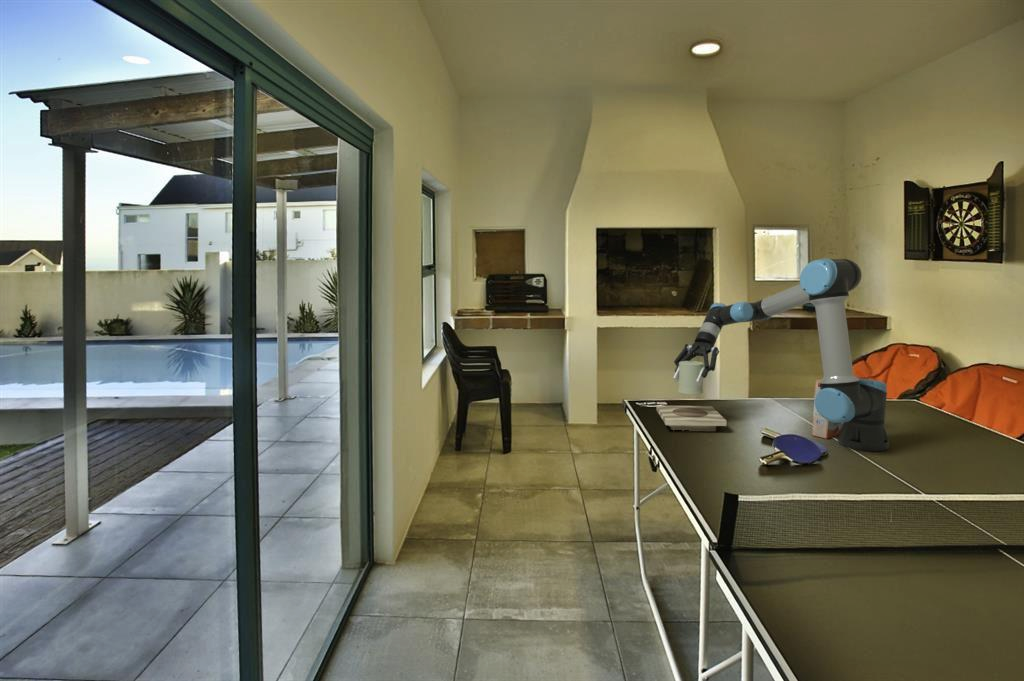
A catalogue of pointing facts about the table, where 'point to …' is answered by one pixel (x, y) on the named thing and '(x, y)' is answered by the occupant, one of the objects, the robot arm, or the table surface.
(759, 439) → the table surface
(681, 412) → the stand
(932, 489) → the table surface
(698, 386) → the can
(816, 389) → the cracker box
